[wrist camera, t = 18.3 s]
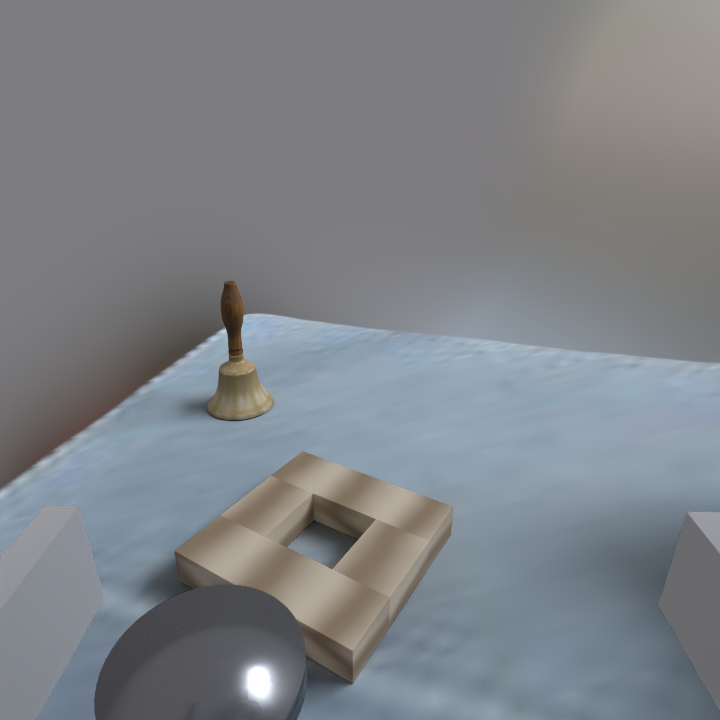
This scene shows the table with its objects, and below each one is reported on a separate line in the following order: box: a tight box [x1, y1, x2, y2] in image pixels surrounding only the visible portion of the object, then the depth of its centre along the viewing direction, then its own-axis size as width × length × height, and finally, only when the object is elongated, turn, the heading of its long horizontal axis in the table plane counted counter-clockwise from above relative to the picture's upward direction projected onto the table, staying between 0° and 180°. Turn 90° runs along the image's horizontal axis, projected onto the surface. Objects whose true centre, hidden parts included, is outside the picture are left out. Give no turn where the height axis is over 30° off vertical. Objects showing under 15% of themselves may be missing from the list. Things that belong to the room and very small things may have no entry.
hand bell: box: [207, 281, 274, 420], centre depth 65 cm, size 8×8×16 cm
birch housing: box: [175, 451, 453, 683], centre depth 44 cm, size 16×16×3 cm
